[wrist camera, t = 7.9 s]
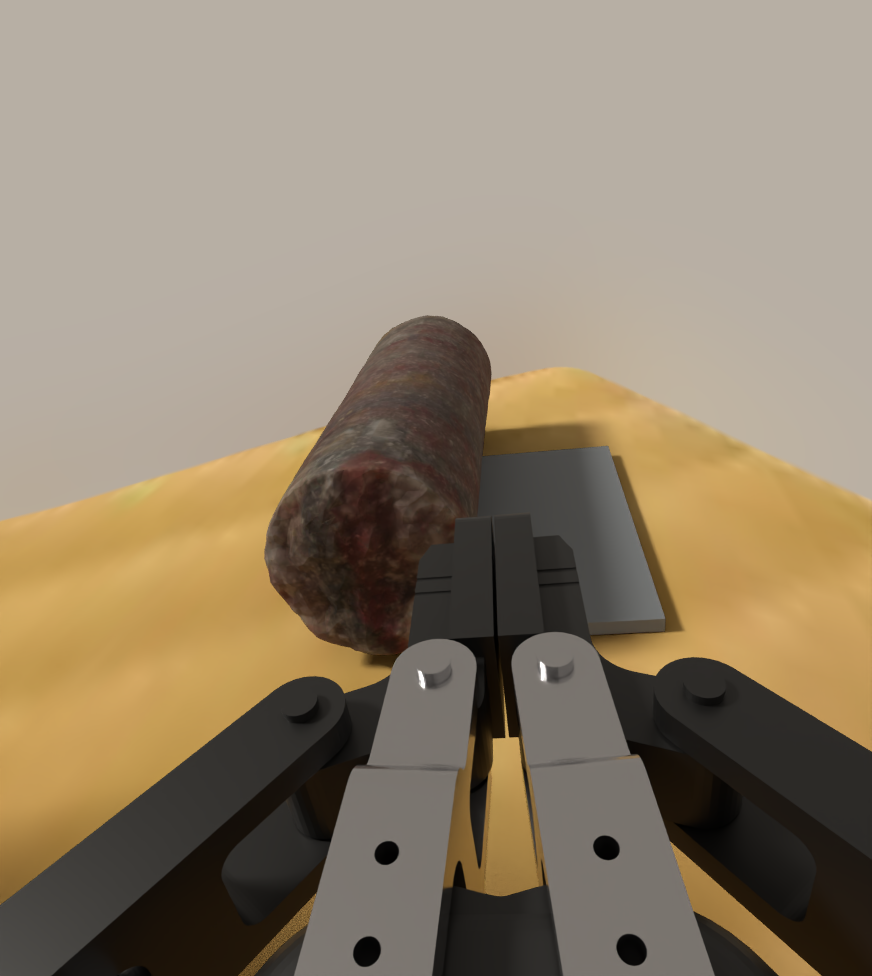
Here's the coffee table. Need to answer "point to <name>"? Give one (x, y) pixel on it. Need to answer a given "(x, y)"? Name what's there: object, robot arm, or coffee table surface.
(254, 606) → the coffee table surface
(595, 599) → the mat
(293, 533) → the reddish brown cylinder
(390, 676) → the robot arm
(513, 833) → the coffee table surface
